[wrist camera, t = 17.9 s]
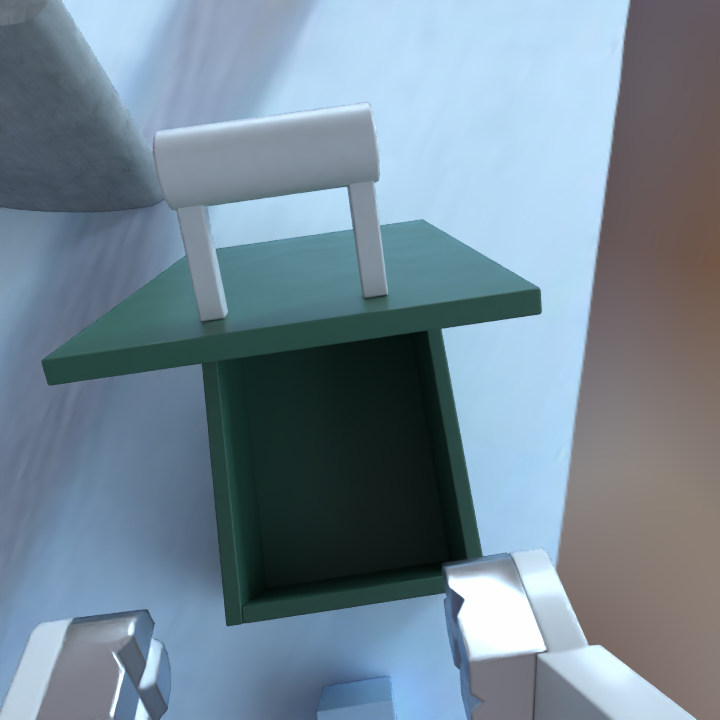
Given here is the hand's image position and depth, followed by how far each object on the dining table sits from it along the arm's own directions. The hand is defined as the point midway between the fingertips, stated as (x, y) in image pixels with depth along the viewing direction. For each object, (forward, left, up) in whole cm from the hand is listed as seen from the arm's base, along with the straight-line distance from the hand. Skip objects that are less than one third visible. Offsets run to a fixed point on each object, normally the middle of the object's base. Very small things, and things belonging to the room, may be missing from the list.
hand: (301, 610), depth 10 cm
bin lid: (+7, +7, -14) cm, 17 cm away
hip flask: (+6, +31, -32) cm, 45 cm away
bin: (+4, +5, -31) cm, 32 cm away
